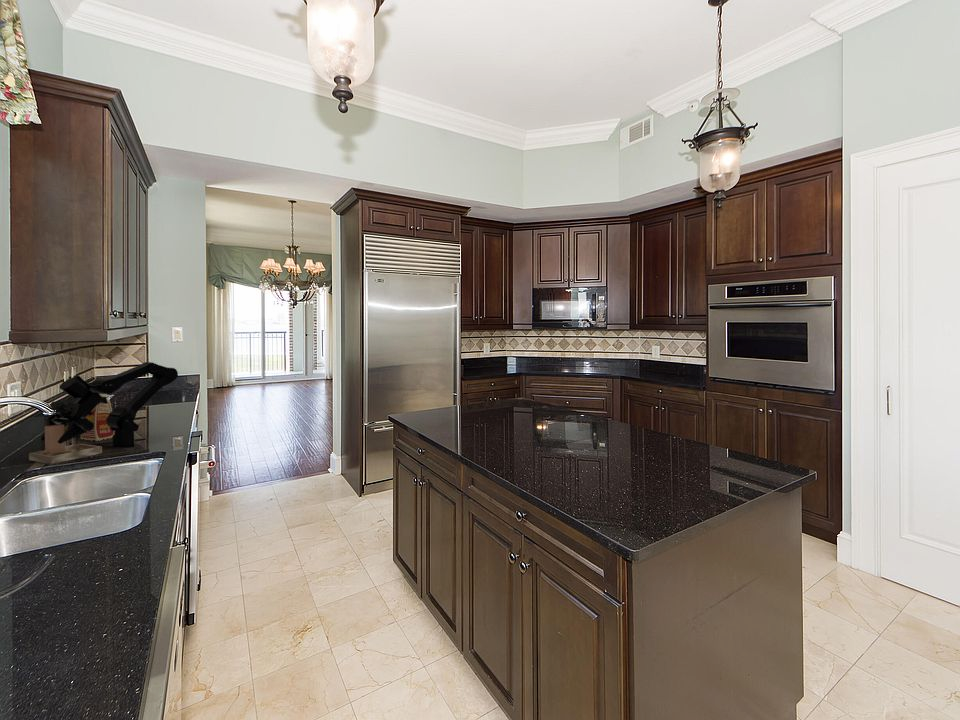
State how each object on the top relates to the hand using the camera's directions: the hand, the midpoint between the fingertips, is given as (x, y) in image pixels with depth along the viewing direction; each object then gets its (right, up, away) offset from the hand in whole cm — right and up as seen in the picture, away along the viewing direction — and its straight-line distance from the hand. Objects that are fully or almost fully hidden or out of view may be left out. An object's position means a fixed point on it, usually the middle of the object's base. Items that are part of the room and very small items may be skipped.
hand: (50, 441), depth 165 cm
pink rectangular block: (0, -6, +2) cm, 7 cm away
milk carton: (-13, -5, +36) cm, 39 cm away
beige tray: (+1, -7, +5) cm, 9 cm away
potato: (-25, -5, +37) cm, 45 cm away
